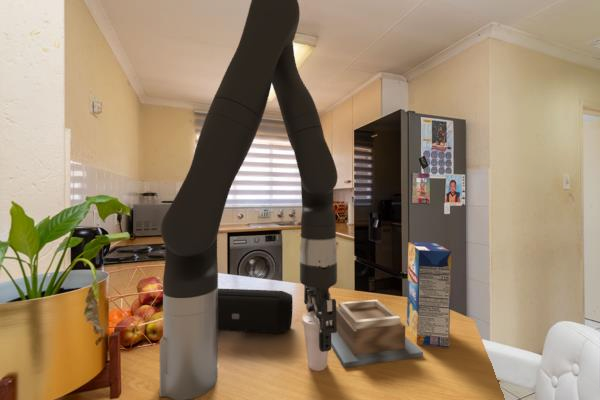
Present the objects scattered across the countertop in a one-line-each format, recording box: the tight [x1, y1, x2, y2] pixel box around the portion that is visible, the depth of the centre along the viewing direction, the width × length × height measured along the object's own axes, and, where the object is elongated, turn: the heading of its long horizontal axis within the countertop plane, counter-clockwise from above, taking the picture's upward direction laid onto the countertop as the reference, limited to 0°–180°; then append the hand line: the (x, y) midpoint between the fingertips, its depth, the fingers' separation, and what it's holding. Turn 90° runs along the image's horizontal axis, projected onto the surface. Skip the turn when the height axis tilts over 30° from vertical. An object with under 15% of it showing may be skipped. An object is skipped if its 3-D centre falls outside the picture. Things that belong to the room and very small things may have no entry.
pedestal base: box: [331, 298, 424, 368], centre depth 63 cm, size 18×16×8 cm
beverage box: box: [406, 241, 452, 349], centre depth 66 cm, size 7×11×22 cm, turn 170°
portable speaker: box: [218, 288, 293, 334], centre depth 68 cm, size 26×10×10 cm, turn 86°
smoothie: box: [301, 311, 329, 372], centre depth 54 cm, size 6×6×14 cm
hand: (318, 338), depth 55 cm, fingers open, 8 cm apart
